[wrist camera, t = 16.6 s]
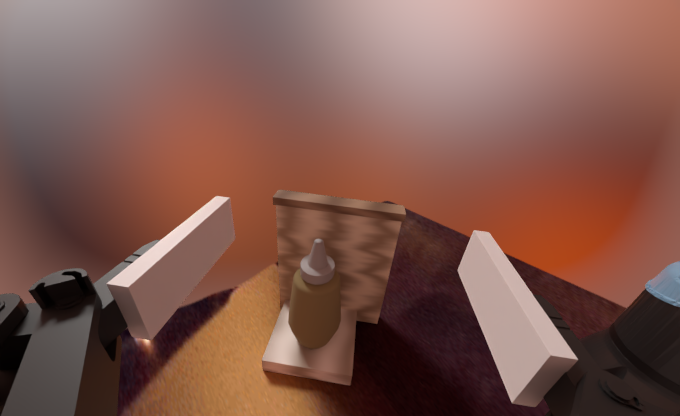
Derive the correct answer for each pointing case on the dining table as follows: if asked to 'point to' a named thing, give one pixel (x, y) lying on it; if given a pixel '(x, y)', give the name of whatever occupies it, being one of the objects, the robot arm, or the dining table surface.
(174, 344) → the dining table surface
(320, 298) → the squeeze bottle
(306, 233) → the wooden display stand
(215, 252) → the robot arm
